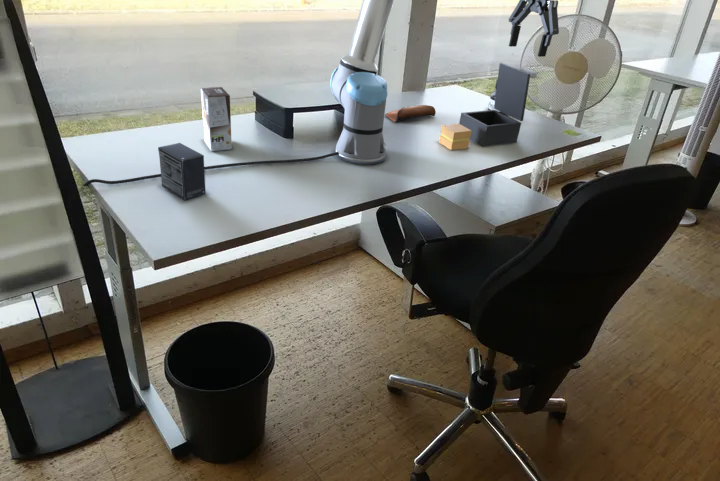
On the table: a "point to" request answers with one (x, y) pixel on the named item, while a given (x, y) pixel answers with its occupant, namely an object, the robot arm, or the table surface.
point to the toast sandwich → (454, 136)
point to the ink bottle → (493, 100)
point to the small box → (182, 171)
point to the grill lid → (512, 90)
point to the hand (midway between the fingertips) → (526, 51)
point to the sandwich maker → (490, 127)
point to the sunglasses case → (411, 112)
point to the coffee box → (216, 118)
